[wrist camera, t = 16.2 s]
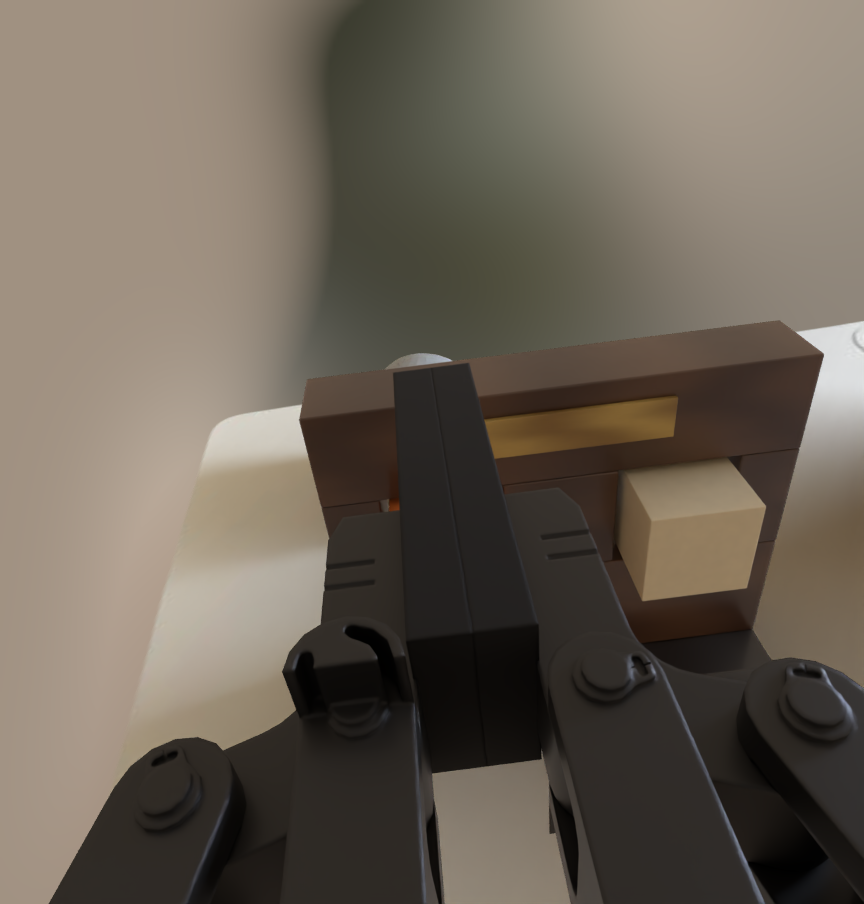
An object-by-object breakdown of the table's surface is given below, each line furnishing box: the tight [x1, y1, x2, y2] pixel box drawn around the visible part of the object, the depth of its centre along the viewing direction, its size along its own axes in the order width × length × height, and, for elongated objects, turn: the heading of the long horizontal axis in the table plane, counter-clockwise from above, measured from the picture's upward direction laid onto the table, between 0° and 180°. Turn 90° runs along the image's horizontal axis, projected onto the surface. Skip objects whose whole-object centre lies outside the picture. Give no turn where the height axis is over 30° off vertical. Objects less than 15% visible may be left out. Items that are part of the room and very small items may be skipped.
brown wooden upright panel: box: [299, 321, 824, 682], centre depth 28 cm, size 18×7×15 cm, turn 94°
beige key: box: [614, 457, 766, 601], centre depth 25 cm, size 4×4×4 cm
